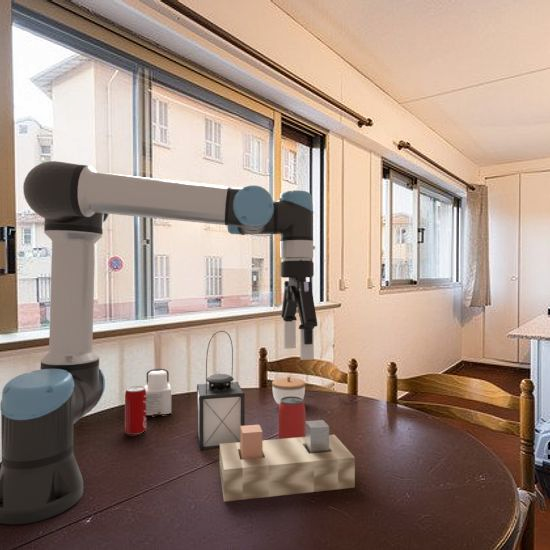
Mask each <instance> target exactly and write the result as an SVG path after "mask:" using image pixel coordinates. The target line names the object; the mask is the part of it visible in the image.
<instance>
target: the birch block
mask: <svg viewBox="0 0 550 550" xmlns="http://www.w3.org/2000/svg"><path fill="white" fill-rule="evenodd" d="M355 465H356V457H355V456H354V455H353V454H352V452H350V450H349V449H348V448H347V447H346V445H344V444H343V443H342V441H341V440H340V439H339V438H338V437H337V436H336V434H329V452H321V453H310V454H309V453H308V452H307V450H306V448H305V437H297V438H285V439H279V438H276V439H274V438H273V439H264V440H263V458H254V459H241V456H240V442H235V443H223V444H220V449H219V477H220V484H221V490H222V497H223V502H233V501H241V500H251V499H252V500H253V499H260V498H271V497H278V496H288V495H289V496H290V495H296V494H307V493H316V492H324V491H326V492H327V491H333V490H343V489H344V490H345V489H354V488H355V487H356V485H355V483H356V481H355V480H356V475H355V474H356V469H355V468H356V466H355Z"/></svg>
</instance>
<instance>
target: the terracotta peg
mask: <svg viewBox="0 0 550 550" xmlns="http://www.w3.org/2000/svg"><path fill="white" fill-rule="evenodd" d="M263 434H264V431H263V430H262V427H261V424H250V425H244V426H240V456H241V459H254V458H263V436H264V435H263Z"/></svg>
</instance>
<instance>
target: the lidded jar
mask: <svg viewBox="0 0 550 550" xmlns="http://www.w3.org/2000/svg"><path fill="white" fill-rule="evenodd" d="M271 384H272V396H273V399H274V401H275V402H276V404H277V405H280V402H281V399H282V398H284V397H289V396H294V397H300V398H302V399H303V400H304V398H305V394H306V393H305V392H306V382H305V381H304V379H301V378H295V377H291V376H287V377H281V378H276V379H274V380H272V381H271Z"/></svg>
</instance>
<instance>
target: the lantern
mask: <svg viewBox="0 0 550 550" xmlns="http://www.w3.org/2000/svg"><path fill="white" fill-rule="evenodd" d="M221 332H222V333H225V334H227V335H228V337H229V340H230V343H231V345H233V341H232V338H231V336H230V334H229V333H228V332H227V331H224V330H219V331H216V332H215V333H214V334H213V335H212V336H211V338H210V340H209V342H208V345H207V351H206V362H205V383H197V386H196V396H197V397H196V404H197V405H196V434H197V438H198V439H197V440H198V450H199V452H203V451H212V450H220V444H223V443H235V442H240V426H245V417H246V416H245V412H246V411H245V410H246V409H245V408H246V407H245V400H246V399H245V395H246V394H245V391H243V390H242V388H241V385H240V384H239V382H238V381H234V377H233V376H232V375H229V374H227V373H217V374H211V375H210V376H208V356H209V355H208V353H209V347H210V343H211V342H212V339H213V338H214V337H215V335H216V334H218V333H221ZM233 363H234V348H233V346H231V373H234V372H233V370H234V369H233V368H234V367H233V366H234V365H233Z"/></svg>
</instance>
